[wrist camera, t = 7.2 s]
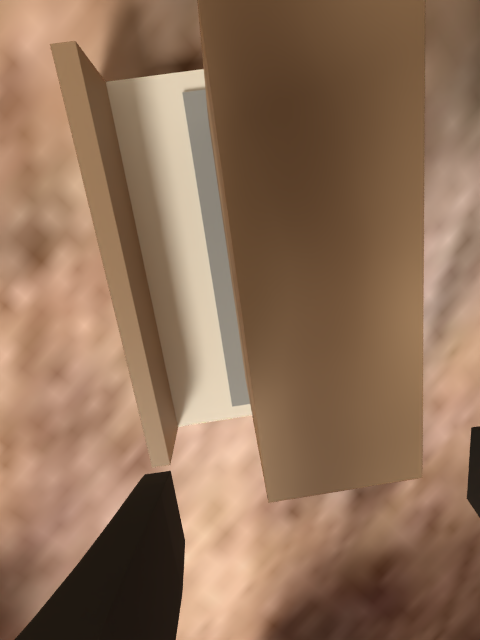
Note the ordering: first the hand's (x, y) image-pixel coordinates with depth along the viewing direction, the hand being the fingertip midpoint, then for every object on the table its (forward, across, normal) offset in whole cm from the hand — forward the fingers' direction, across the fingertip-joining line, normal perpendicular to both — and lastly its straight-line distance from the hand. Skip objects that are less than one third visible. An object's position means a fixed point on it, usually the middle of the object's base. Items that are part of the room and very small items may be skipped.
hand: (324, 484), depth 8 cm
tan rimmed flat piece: (+10, 0, -4) cm, 11 cm away
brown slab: (+9, -1, -5) cm, 10 cm away
